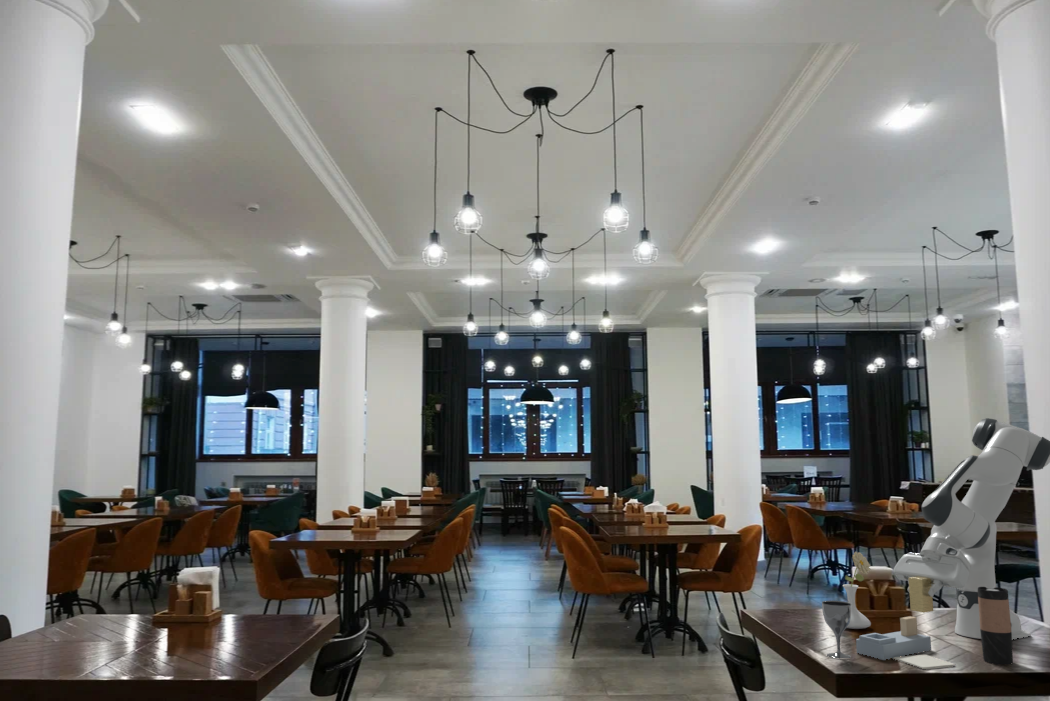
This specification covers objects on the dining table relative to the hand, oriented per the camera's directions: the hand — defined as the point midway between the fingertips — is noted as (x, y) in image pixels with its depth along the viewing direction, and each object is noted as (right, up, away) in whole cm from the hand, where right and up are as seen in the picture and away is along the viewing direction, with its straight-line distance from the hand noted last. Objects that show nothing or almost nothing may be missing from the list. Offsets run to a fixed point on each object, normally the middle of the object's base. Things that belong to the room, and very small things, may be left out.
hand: (919, 593), depth 221 cm
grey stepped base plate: (-2, -21, +10) cm, 23 cm away
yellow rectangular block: (+1, -5, 0) cm, 5 cm away
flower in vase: (0, -25, +42) cm, 49 cm away
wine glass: (-21, -20, +5) cm, 29 cm away
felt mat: (0, -19, -2) cm, 19 cm away
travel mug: (+22, -19, -1) cm, 29 cm away
